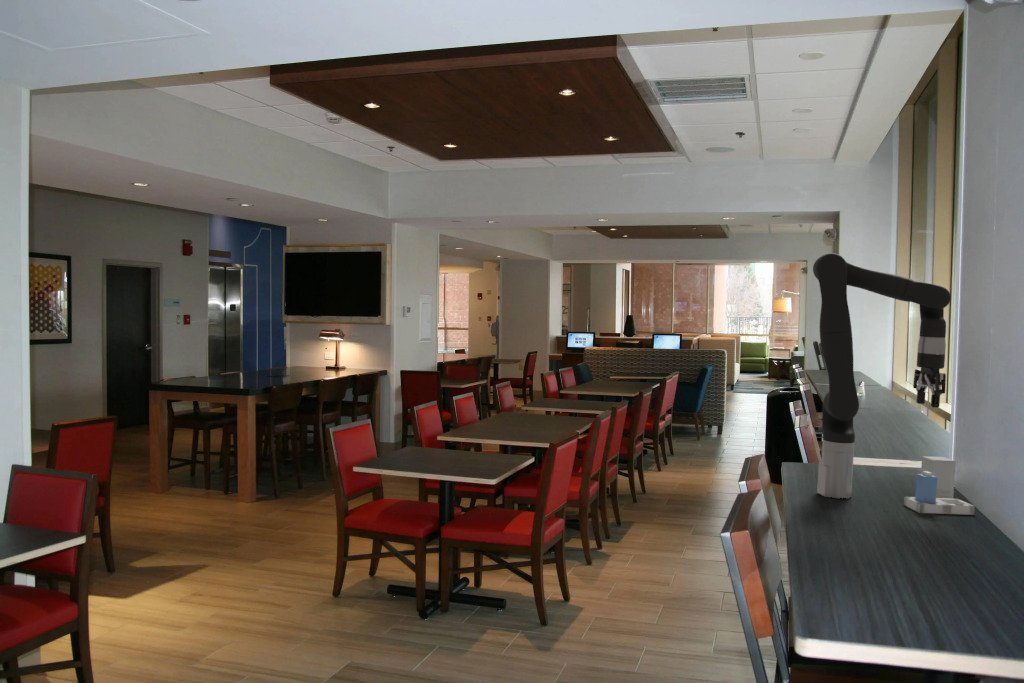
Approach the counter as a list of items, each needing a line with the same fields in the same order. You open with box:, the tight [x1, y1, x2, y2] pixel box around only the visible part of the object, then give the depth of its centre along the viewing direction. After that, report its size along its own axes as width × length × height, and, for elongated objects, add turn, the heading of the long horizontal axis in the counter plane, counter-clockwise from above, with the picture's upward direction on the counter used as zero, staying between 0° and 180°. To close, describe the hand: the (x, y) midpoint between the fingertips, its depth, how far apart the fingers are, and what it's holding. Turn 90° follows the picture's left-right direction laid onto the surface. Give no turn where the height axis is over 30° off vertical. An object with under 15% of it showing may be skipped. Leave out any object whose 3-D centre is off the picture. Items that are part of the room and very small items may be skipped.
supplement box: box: [920, 455, 957, 498], centre depth 265 cm, size 7×7×13 cm
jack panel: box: [903, 496, 975, 516], centre depth 247 cm, size 16×9×3 cm, turn 91°
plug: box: [914, 471, 937, 503], centre depth 246 cm, size 4×4×11 cm
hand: (927, 405), depth 255 cm, fingers open, 8 cm apart
